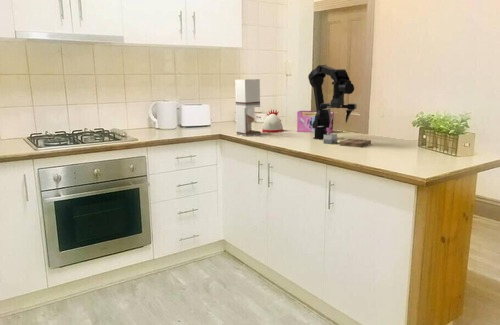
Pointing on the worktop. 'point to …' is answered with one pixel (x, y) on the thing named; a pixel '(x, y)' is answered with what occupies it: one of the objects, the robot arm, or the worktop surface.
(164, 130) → the worktop surface
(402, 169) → the worktop surface
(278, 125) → the white dome
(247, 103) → the coffee grinder
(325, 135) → the block
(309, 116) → the gum box
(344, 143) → the walnut stand
